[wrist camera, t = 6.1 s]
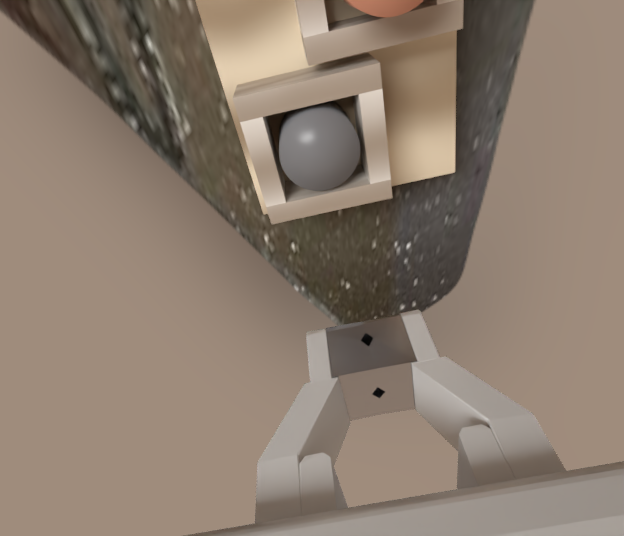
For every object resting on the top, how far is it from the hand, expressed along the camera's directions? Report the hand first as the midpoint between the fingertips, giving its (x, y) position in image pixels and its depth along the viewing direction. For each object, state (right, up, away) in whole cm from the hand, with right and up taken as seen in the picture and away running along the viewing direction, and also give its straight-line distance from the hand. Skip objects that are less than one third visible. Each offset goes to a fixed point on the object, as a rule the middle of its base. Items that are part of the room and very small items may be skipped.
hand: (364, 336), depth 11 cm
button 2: (-1, +10, +13) cm, 17 cm away
